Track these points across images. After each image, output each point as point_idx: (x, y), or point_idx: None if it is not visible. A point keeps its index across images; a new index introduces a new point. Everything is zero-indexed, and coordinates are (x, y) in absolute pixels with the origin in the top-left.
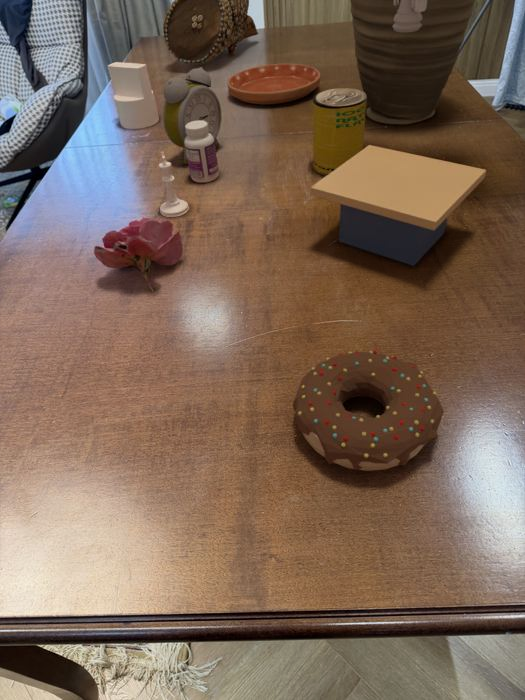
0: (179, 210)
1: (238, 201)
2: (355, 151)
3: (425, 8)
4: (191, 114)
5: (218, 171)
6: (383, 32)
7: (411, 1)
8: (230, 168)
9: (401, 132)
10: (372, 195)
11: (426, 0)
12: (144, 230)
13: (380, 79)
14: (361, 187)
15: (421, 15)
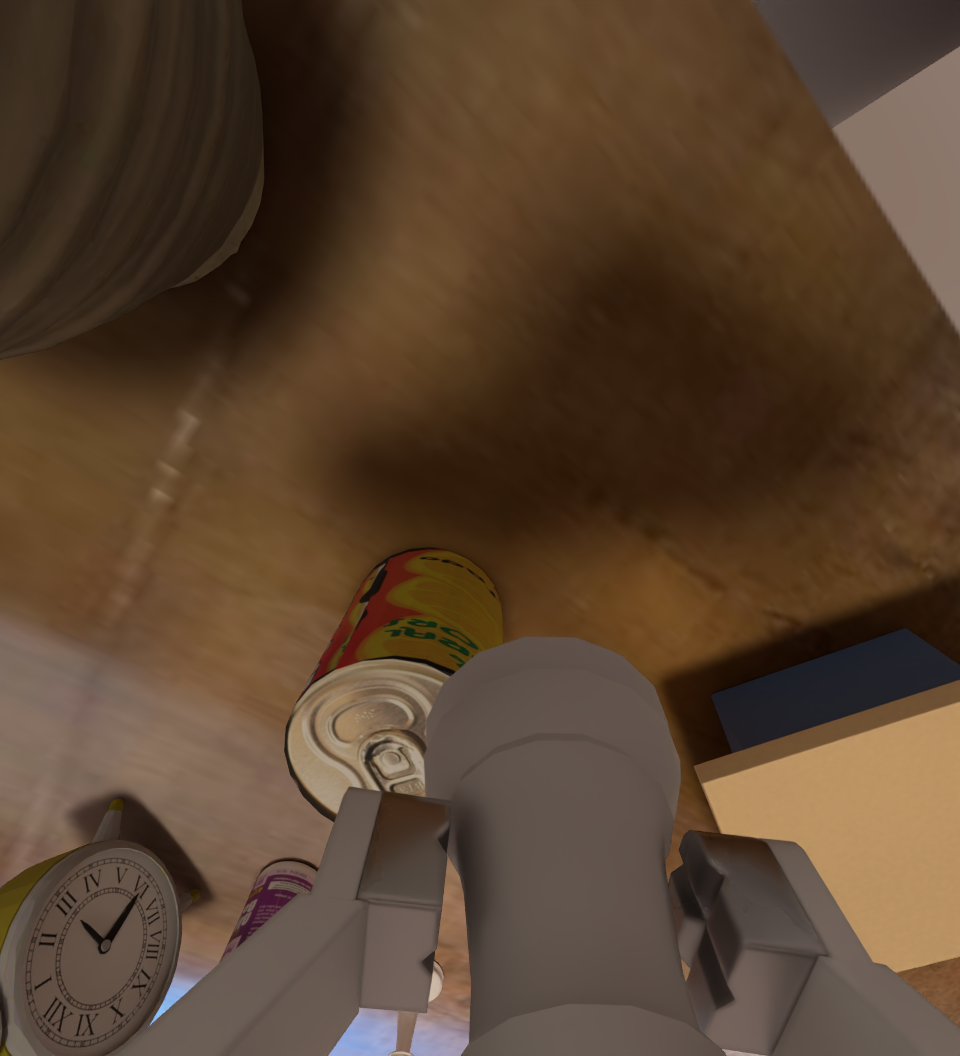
0: (439, 985)
1: (457, 877)
2: (502, 641)
3: (797, 851)
4: (108, 997)
5: (305, 875)
6: None
7: (690, 994)
8: (277, 826)
9: (317, 278)
10: (939, 933)
11: (841, 925)
12: None
13: (106, 322)
14: (887, 929)
15: (650, 728)
